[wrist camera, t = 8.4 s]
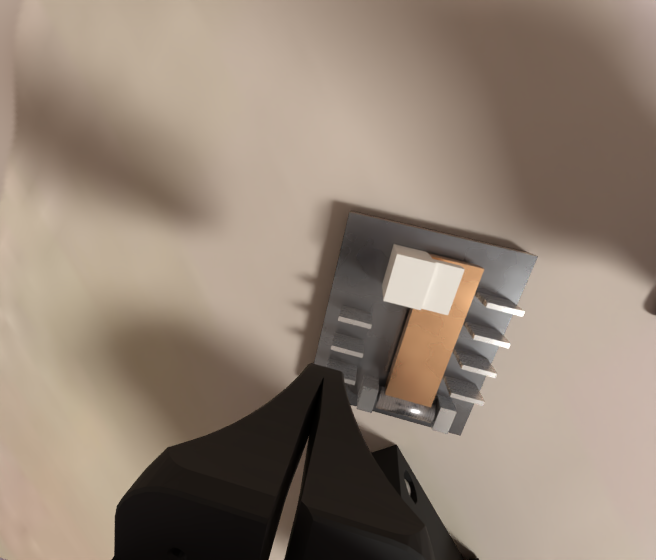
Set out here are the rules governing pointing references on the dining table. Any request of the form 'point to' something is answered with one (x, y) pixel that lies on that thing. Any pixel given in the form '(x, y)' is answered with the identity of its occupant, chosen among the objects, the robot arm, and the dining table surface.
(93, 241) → the dining table surface
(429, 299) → the white stepped block
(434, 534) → the electrical component
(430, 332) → the brown flat bar
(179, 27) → the dining table surface
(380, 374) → the heatsink
